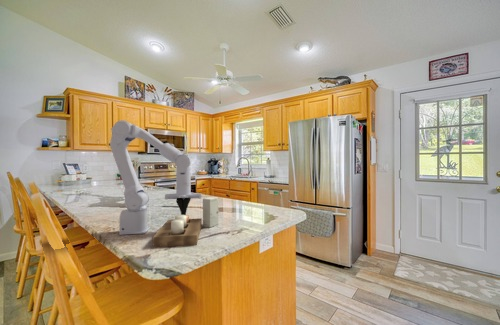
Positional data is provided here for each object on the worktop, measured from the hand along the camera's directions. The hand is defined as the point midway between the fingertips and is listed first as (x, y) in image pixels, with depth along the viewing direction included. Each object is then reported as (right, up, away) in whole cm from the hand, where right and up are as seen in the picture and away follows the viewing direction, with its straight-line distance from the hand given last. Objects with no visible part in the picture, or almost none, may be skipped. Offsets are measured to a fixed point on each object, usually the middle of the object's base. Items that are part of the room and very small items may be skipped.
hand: (183, 216), depth 90 cm
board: (+1, -5, -7) cm, 9 cm away
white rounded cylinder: (+2, -2, -14) cm, 14 cm away
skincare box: (+10, -6, +6) cm, 13 cm away
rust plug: (0, -4, 0) cm, 4 cm away
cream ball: (+1, -2, -7) cm, 7 cm away
